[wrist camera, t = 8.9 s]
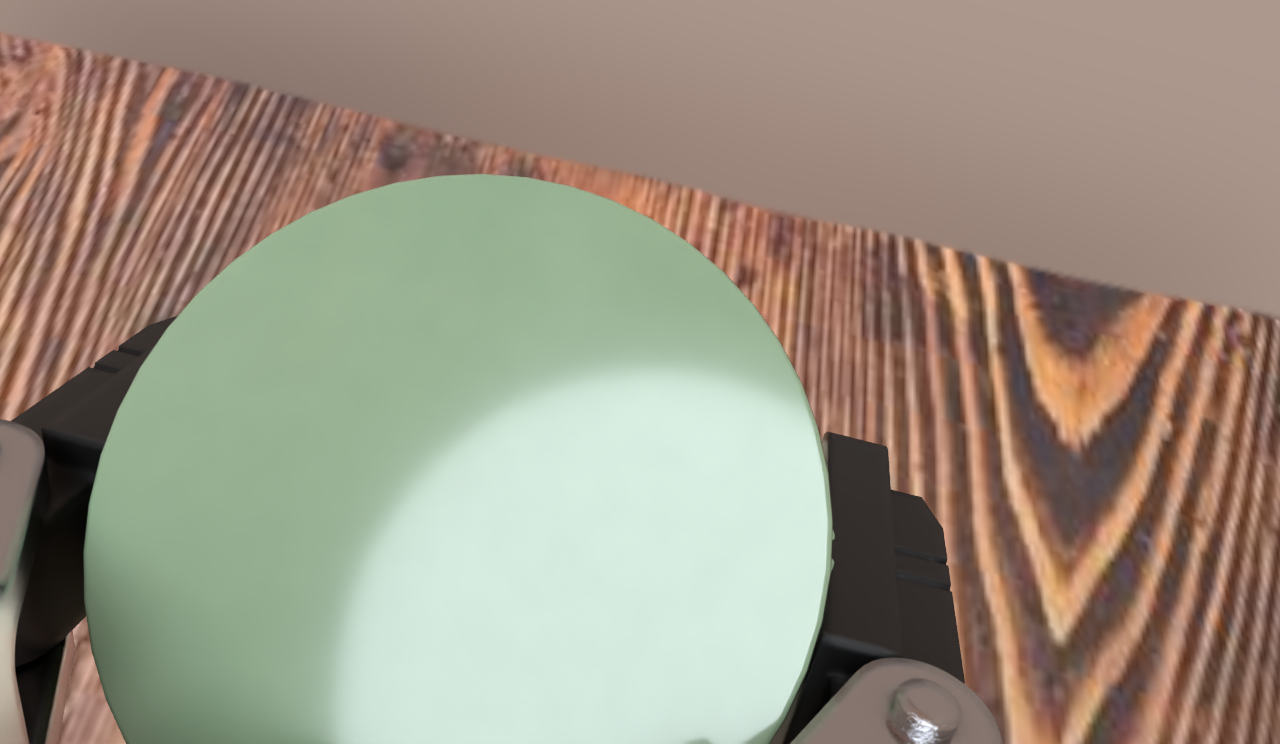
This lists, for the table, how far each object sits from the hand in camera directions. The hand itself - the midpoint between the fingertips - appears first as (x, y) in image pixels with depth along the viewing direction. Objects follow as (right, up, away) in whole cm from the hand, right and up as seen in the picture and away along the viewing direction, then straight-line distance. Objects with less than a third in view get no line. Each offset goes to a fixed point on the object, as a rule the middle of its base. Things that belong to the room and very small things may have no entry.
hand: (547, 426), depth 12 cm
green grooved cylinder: (0, -3, +5) cm, 6 cm away
